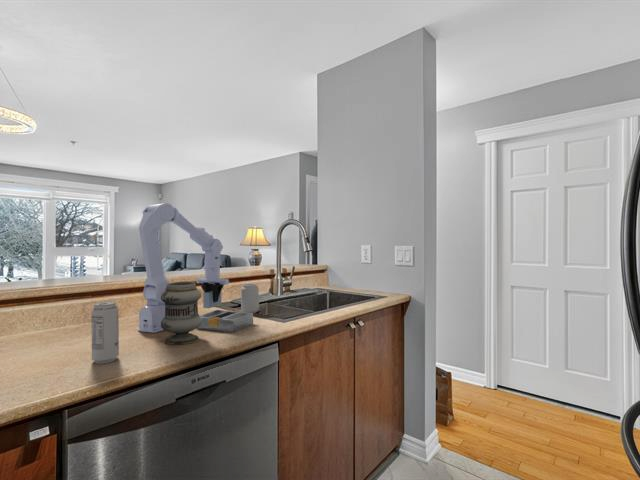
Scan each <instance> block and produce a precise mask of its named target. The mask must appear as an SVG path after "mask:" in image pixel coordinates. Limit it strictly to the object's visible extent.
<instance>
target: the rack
mask: <svg viewBox="0 0 640 480" xmlns="http://www.w3.org/2000/svg"><path fill="white" fill-rule="evenodd" d="M199 315H200V316H201V317H202V324H201V325H200V326H199V327H198V328H197V329H199V330H207V331H208V330H209V331H216V332H217V331H218V332H223V333H224V332H226V333H235V332H237V331H240V330H243V329H244V328H247V327H249V326H251V325H253V324H254V313H248V312H242V311H236V310H235V311H234V310H226V309H225V310H224V309H223V310H222V309H216V310H213V311H209V312H207V313H203V314H199Z"/></svg>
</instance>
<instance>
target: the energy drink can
mask: <svg viewBox="0 0 640 480" xmlns="http://www.w3.org/2000/svg"><path fill="white" fill-rule="evenodd" d="M90 313H91V316H90V317H91V322H90V323H91V360H92V361H93V362H94V363H95V364H98V365H102V364H108V363H112V362H114V361H116V360H117V357H118V356H119V355H120V351H119V350H120V348H119V347H120V345H119V344H120V341H119V338H120V336H119V333H120V332H119V331H120V329H119V326H120V325H119V307H118V305H117V303H116V301H102V302H96V303H94V304H93V308H92V309H91V312H90Z"/></svg>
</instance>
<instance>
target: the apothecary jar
mask: <svg viewBox="0 0 640 480" xmlns="http://www.w3.org/2000/svg"><path fill="white" fill-rule="evenodd" d="M196 284H197V283H196V282H195V281H189V280H186V281H183V280H182V281H181V280H180V281H175V282H169V283H168V284H167V286H166V290H165V291H164V292H163V293H162V295H161V300H162V301H163V302H165V317H164V318H163V319H162V321H161V327H162V328H163V329H164V330H163V331H165V332H166V333H167V332H168V333H171V334H172V335H171V336H168V337H167V338H165V340H164V343H165V344H167V345H171V346H173V345H174V346H175V345H176V346H177V345H188V344H191V343H195V342H197V341H198V340H199V336H198V335H197V334H193V333H191V332H193V331H195V330H197V329H198V327H199V326H200V325H201V324H202V317H201V316H200V315H201V314H199V310H198V309H199V308H198V303H199V302H198V301H199V300H200V299H201V298H202V292H201V290H200V289H198V288H197V285H196Z"/></svg>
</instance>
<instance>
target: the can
mask: <svg viewBox="0 0 640 480" xmlns="http://www.w3.org/2000/svg"><path fill="white" fill-rule="evenodd" d="M259 294H260V289H259V286H258V284H257V283H244V284H242V287H240V312H248V313H253V314H256V313H257V312H259V310H260V307H259V305H260V295H259Z"/></svg>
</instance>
